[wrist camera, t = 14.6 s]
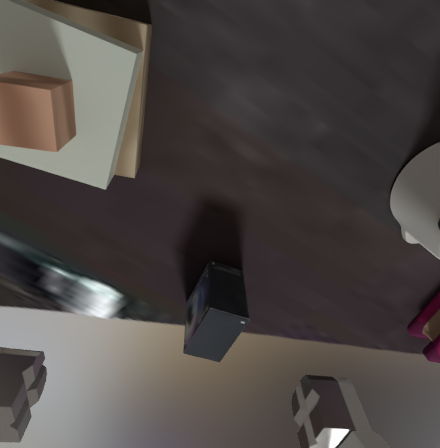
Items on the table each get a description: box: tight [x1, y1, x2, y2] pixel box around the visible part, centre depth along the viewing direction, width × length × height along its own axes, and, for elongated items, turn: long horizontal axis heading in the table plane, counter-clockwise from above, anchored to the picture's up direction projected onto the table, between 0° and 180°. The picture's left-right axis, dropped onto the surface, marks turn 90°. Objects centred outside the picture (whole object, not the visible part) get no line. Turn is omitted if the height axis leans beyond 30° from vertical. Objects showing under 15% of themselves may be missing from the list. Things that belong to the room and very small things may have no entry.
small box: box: [183, 260, 250, 362], centre depth 49 cm, size 11×6×10 cm, turn 156°
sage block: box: [0, 0, 143, 190], centre depth 31 cm, size 14×14×4 cm
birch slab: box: [24, 0, 152, 178], centre depth 35 cm, size 16×16×4 cm
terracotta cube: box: [0, 71, 76, 152], centre depth 27 cm, size 5×5×5 cm
